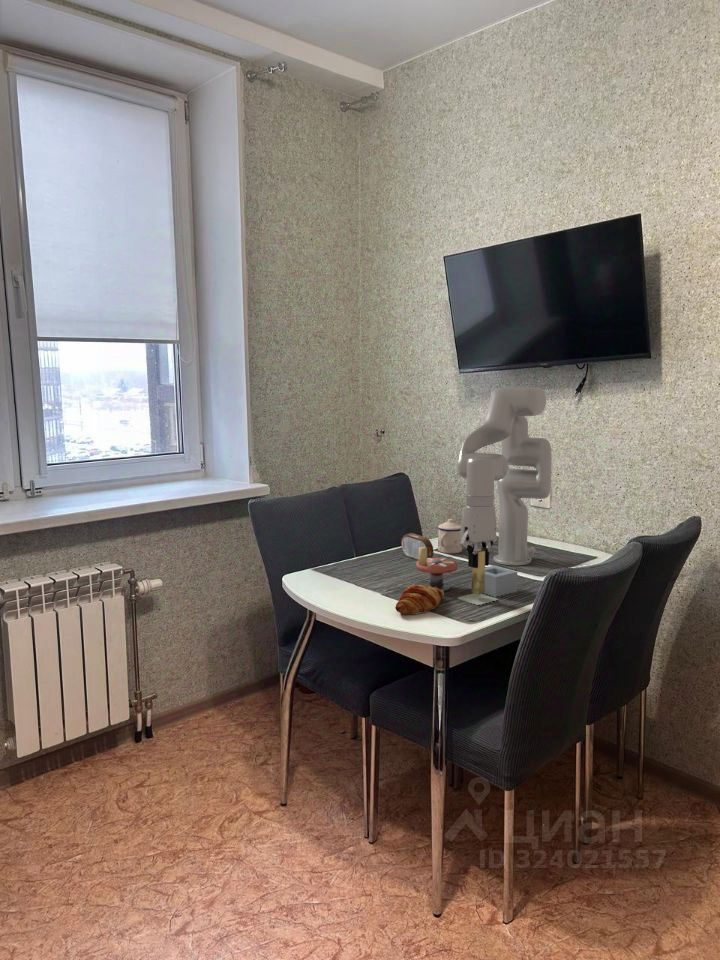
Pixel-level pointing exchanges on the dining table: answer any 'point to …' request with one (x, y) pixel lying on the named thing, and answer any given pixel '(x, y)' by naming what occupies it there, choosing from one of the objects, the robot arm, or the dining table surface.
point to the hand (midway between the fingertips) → (478, 565)
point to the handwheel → (434, 563)
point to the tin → (415, 545)
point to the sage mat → (477, 599)
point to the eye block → (500, 581)
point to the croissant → (419, 599)
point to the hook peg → (479, 574)
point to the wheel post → (438, 582)
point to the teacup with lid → (449, 537)
